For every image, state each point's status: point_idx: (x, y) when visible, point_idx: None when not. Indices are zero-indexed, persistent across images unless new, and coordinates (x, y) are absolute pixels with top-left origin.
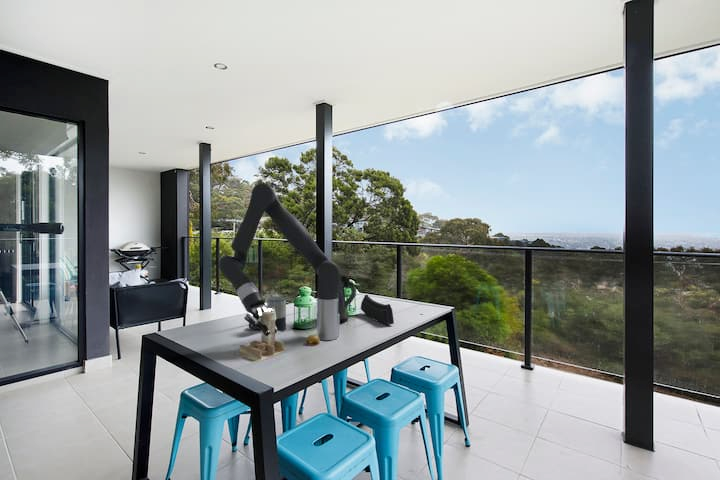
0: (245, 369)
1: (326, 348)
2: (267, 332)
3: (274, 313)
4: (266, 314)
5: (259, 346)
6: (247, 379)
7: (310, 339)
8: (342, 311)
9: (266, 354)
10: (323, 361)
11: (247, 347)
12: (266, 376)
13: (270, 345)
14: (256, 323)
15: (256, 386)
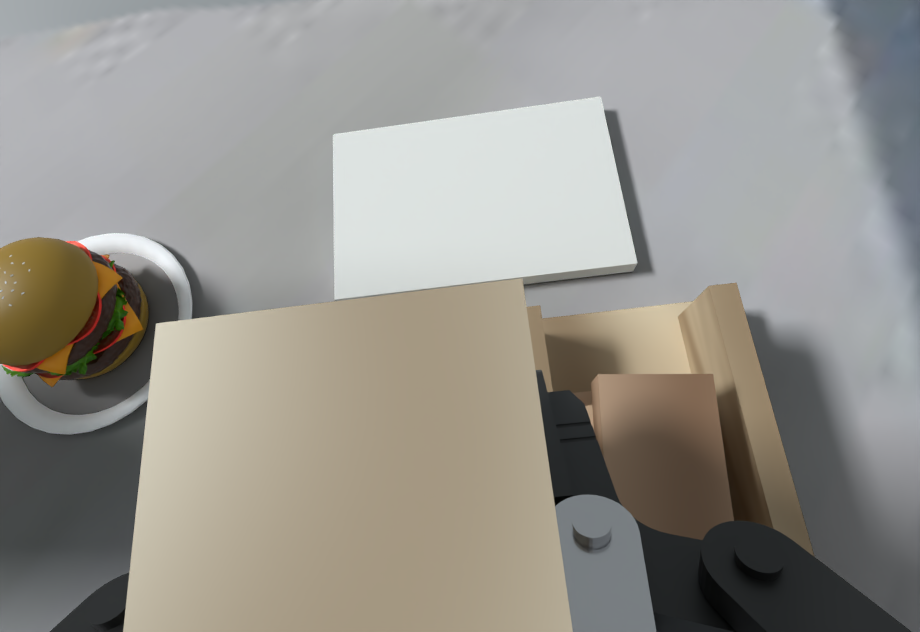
0: (849, 308)
1: (79, 221)
2: (549, 395)
3: (211, 328)
4: (542, 454)
5: (690, 377)
6: (912, 136)
7: (82, 272)
8: None
9: (575, 385)
10: (316, 53)
11: (802, 518)
12: (769, 95)
13: (537, 355)
14: (825, 583)
15: (900, 17)
